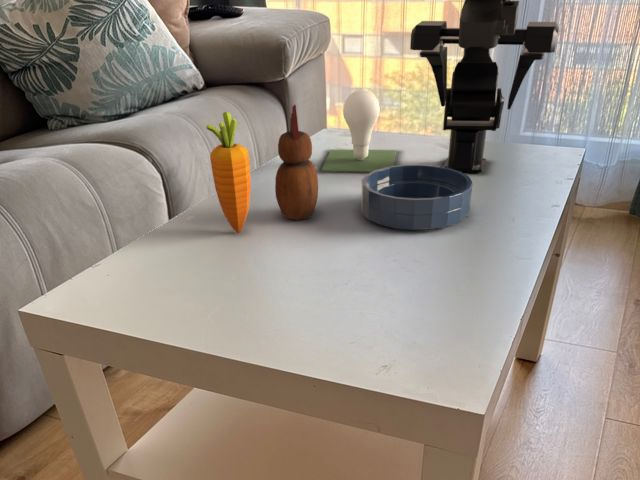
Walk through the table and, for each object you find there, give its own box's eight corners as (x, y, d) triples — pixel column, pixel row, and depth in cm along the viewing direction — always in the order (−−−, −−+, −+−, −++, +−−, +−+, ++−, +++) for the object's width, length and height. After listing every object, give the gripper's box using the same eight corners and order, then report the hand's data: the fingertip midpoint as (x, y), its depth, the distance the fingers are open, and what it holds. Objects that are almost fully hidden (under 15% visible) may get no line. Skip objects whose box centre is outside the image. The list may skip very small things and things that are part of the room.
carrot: (241, 242, 85) (228, 121, 75) (212, 235, 87) (196, 116, 77) (263, 229, 88) (253, 111, 78) (235, 223, 90) (221, 108, 81)
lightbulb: (384, 157, 111) (386, 88, 105) (367, 167, 107) (368, 95, 101) (354, 153, 114) (354, 85, 107) (336, 162, 110) (335, 92, 103)
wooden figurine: (313, 225, 89) (308, 108, 79) (273, 223, 90) (264, 107, 80) (322, 208, 94) (319, 96, 84) (284, 206, 95) (278, 95, 85)
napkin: (330, 151, 116) (330, 149, 116) (396, 152, 115) (396, 150, 115) (321, 171, 107) (321, 170, 107) (392, 172, 106) (392, 171, 105)
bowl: (375, 191, 99) (376, 161, 96) (474, 199, 95) (478, 168, 92) (349, 227, 88) (349, 194, 85) (459, 237, 84) (463, 203, 81)
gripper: (405, -22, 76) (398, 118, 86) (567, -24, 71) (541, 125, 81) (422, -29, 84) (414, 100, 94) (569, -31, 80) (545, 105, 89)
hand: (475, 107), depth 90 cm, fingers open, 9 cm apart
